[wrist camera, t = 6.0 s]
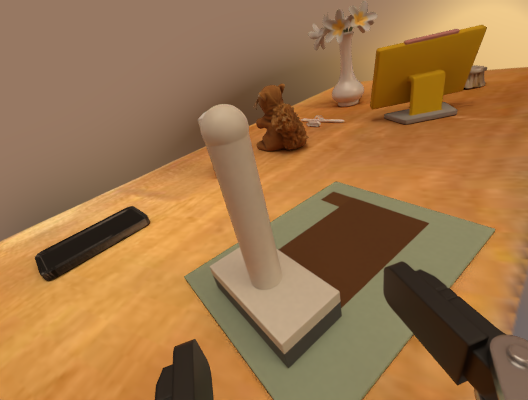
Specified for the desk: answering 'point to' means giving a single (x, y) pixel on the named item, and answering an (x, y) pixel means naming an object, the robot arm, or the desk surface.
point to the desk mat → (347, 286)
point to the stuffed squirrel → (279, 121)
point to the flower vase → (345, 49)
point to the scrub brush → (262, 250)
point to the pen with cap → (317, 121)
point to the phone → (89, 242)
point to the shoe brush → (476, 77)
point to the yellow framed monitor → (424, 73)
